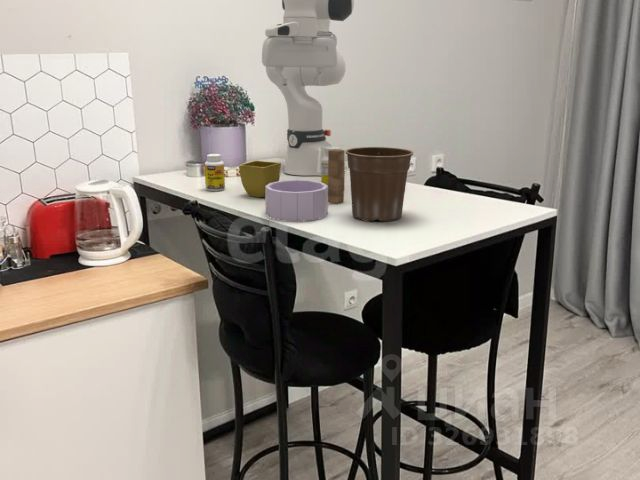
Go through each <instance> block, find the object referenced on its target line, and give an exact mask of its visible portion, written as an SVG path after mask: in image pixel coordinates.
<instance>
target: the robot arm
mask: <svg viewBox="0 0 640 480" xmlns="http://www.w3.org/2000/svg"><path fill="white" fill-rule="evenodd" d="M281 6H282V7H281V8H282V10H283V11H284V13H283V17H282V21H283V22H282V23H278V24H276V25H274V26H270V27H268V28H266V29H265V30H264V31H265V34H264V35H265V36H266V37H267V38H265V39H264V40H263V43H262V51H261V64H262V65H263V67H265V72H266V75H267V78H268V79H269V81H270V82H271V83H273V84H274V85H275V87H277V88H278V89H279V90H280V92H281V94H282V95H283V98H284V100H285V102H286V106H287V119H288V129H287V130H286V131H287V132H286V139H287V143H288V144H287V147H286V148H287V149H286V157H285V158H286V159H285V165H284V167H283V168H284V170H283V173H284V174H287V175H293V176H319V177H320V176H321V160H322V158H323V157H324V156H325V154H326V153H325V147H334V146H333V145H332V144H330V142H328V141H327V137H330V136H331V135H332V131H331V129H323V106H322V104H321V103H320V101H318V100H317V99H315V98H314V97H312V96H311V95H309V94H308V93H307V91H306V89H305V88H306V87H308V86H310V87H312V86H313V87H327V86H332V85H337V84H339V83H340V82H341V81H342V80H343V79H344V77H345V74H346V62H345V59H344V58H343V56H342V55H341V54H340V52H338V51H337V43H338V39H337V36H336V35H335V33H333V32H332V31H330V24H331V21H336V22H337V21H339V22H344V21H345V20H347V19H348V18H349V17H350V16H351V15H352V14H353V10H354V6H355V0H281ZM326 136H327V137H326ZM346 170H348V165H345V171H346Z"/></svg>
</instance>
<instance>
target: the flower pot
mask: <svg viewBox="0 0 640 480" xmlns="http://www.w3.org/2000/svg"><path fill="white" fill-rule="evenodd" d="M281 165H282V163H281V162H278V161H277V162H275V161H264V160H253V161H249V162H245V163H241V164H238V170H239V176H240V180H241V185H242V187H243V189H244V190H245V192H246V194H247V195H248V196H249V197H258V198H265V186H266V185H268V184H269V183H273V182H278V181H280V176H281Z"/></svg>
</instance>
